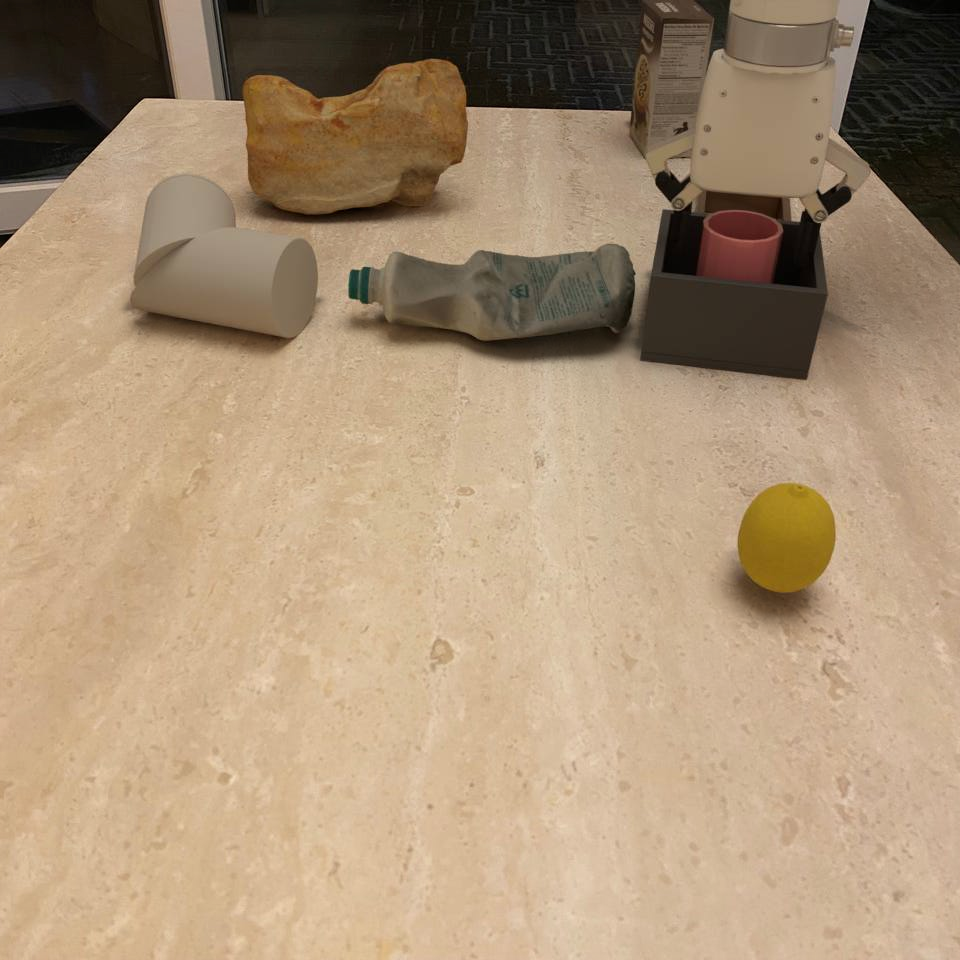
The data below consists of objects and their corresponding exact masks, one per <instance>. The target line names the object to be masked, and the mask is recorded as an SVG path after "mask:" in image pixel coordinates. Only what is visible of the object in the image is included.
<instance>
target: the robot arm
mask: <svg viewBox="0 0 960 960" xmlns="http://www.w3.org/2000/svg"><path fill="white" fill-rule="evenodd" d="M839 4H840V0H730V2H729V10H728V16H727V24H726V29H725V30H726V32H725V38H724V45H723V48H719V49H717V50H715V51H713V53H712V56H711V59H710V61H709V64H708V66H707V69H706V76H705V81H704V85H703V89H702V94H701V98H700V103H699V109H698V114H697V119H696V125H695V128H692V129H690V130H687V131H685V132H682V133H680V134H678V135H675V136H673V137H670V138H668V139H665V140H663V141H661V142H658V143H656V144H653V145H651V146H649V147H648V148H647V151H646V155H645V157H644V159H645V161H646V163H647V166H648V169H649V171H650V173H651V176H652V177H653V179H654V184H655V187H656V188H657V189H658V190H659V191H660V192H661V194H662V195H663V196H664V197H665V198H666V200H667V201H668V202H669V203H670V206H671V208H672V210H674V215H673V222H672V230H671V238H670V242H674V243H678V250H677V257H683V256H685V254H686V247H687V240H688V233H689V225H690V218H691V212H693V211H692V210H693V201H694V200H695V199H697V197H698V196H699V195H700V194H701V193H702V192H703V191H704V190H706V191H713V192H722V193H733V194H744V195H756V196H769V197H782V198H790V199H799V201H800V202H801V204H802V206H803V208H804V210H802V211H801V215H800V220H799V222H800V224H799V229H798V233H797V238H796V243H795V248H794V265H795V266H797V268H802V269H803V268H804V265H805V260H806V255H814V254H815V250H816V245H817V241H818V236H819V232H820V233H821V227H822V224H823V223H825V222H826V221H827V220H828V218H829V216H830V215H832V214H834V213H836V212H837V211H838V210H840V209H841V208H842V207H844V206H845V205H846V204H848V203H849V202H850V201H851V200H852V197H853V195H855V194H856V193H857V192H858V190H860V188H861V187H862V186H863V185H864V184H865V182H866V181H867V180H868V178H870V176H871V172H872V171H871V167H870V164H869V163H868V161H866V160H864V159H863V158H861V157H860V156H858V155H856V154H855V153H853V152H852V151H850V150H849V149H847V148H846V147H844V146H842V145H841V144H840V143H838V142H837V141H835V140H833V139H832V138H830V132H831V125H832V119H833V106H834V95H835V86H836V59H835V58H834V57H832V56H830V55H831V54H830V53H831V52H832V53H833V52H834V51H835V49H840V48H841V47H847V48H851V46H852V44H853V40H854V34H855V26H847V25H846V26H845V24H844V23H839V22H840V21H839V20H838V19H837V18H836V17H837V13H838V9H839ZM689 150H691V157H690V161H689V162H690V164H689V173H688V174H687V175H686V176H684V178H682V179H681V180H679V179H678V178H677V176H675V174H674V173H673V172H672V171H671V169H669V165H668V162H667V161H668V160H670V159H673V158H672V157H674V156H677V155H679V154H682V153H684V152H687V151H689ZM825 162H827V163H829V164H830V165H833V166H834V167H835V168H837V169H839V170H840V171H842V172H843V173H845V175H844V176H843V177H842V179H841V180H840V182H838V183H836V184H835V185H833V186H832V187H830V189H828V190H827V191H825V192H824V193H822V192H821V190H820V188H819V187H820V184H821V181H822V177H823V172H824V169H825V168H824V167H825Z"/></svg>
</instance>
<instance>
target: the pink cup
mask: <svg viewBox="0 0 960 960" xmlns="http://www.w3.org/2000/svg"><path fill="white" fill-rule="evenodd" d="M709 214H710V215H708V216H707V217H706V218H705V219H704V220H703V225H702V231H701V238H700V244H699V251H698V257H697V264H696V270H695V276H701V277H711V278H721V279H730V280H740V281H750V282H759V283H769V284H773V279H774V274H775V269H776V265H777V260H778V255H779V250H780V246H781V241H782V236H783V228H782V225H781V224H780V223H779V222H778V221H776V220H777V219H776V218H771V217H769V216H766V215H764V214H761V213H756V212H751V211H744V210H726V211H718V212H715V213H713V212H711V213H709Z"/></svg>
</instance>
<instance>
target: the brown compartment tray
mask: <svg viewBox="0 0 960 960" xmlns="http://www.w3.org/2000/svg"><path fill="white" fill-rule="evenodd" d="M791 207H792V206H791V198H782V197H769V196H756V195H744V194H733V193H722V192H713V191H706V190H704V191H703V192H702V193H701V194H700V195H699V196H698V197H696V203H695V211H694V212H698V213H715V212H718V211H726V210H744V211H751V212H756V213H761V214H764V215H766V216H769V217H771V218H774V219H775V220H784V221H793V220H792V210H791V209H792V208H791Z"/></svg>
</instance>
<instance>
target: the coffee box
mask: <svg viewBox="0 0 960 960" xmlns="http://www.w3.org/2000/svg"><path fill="white" fill-rule="evenodd" d="M639 19H640V20H639V29H638V37H637V39H638V40H637V50H636V59H635V71H634V72H635V73H634V80H633V81H634V82H633V91H632V99H631V100H632V101H631V112H630V121H629V122H630V123H629V130H628V131H629V132H628V134H629V136H630V135H631V136H630V137H631V139H632V138H633V139H632V140H633V142H634V144H635V145H636V146H637V148H638V150H639V151H640V153H641V154H642V155H643V157H644V158H645V155H646V151H647V148H648V147H649V146H651V145H653V144H656V143H658V142H661V141H663V140H665V139H668V138H670V137H673V136H675V135H678V134H680V133H682V132H685V131H687V130H690V129H692V128H695V125H696V119H697V114H698V109H699V103H700V98H701V94H702V89H703V85H704V81H705V77H706V74H707V70H708V62H709V55H710V49H711V42H712V35H713V30H714V29H713V28H714V23H715V17H713V15H711V14H710V13H709V12H708V11H706V10H705V9H704V8H703V7H702V6H701V5H699V4H698V3H697V2H696V1H695V0H641V9H640V18H639ZM682 157H686V158H691V150H689V151H687V152H684V153H682V154H679V155H677V156H674V157H672V158H671V159H675V158H676V159H678V158H682Z"/></svg>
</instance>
